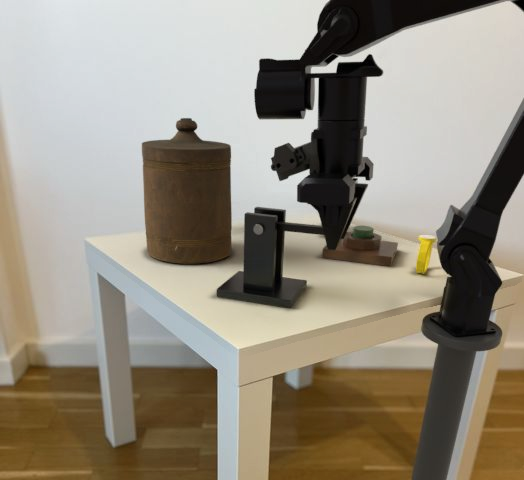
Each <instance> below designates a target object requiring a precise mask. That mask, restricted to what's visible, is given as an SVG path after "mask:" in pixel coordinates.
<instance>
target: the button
mask: <svg viewBox="0 0 524 480" xmlns="http://www.w3.org/2000/svg"><path fill="white" fill-rule="evenodd" d="M352 231H353V235H352V237H355V238H361V239H371V238H373V233H374V228H373V227H372V226H369V225H354V226H353V227H352Z"/></svg>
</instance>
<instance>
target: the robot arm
mask: <svg viewBox="0 0 524 480" xmlns="http://www.w3.org/2000/svg"><path fill="white" fill-rule="evenodd" d="M505 2H510V3H512V4H514V5H515V6H516V7H517V8H518V9H519V10H520V11H521V12H523V13H524V0H328V1H327V2H326V3H325V4H324V6H323V7H322V9H321V11H320V13H319V15H318V19H317V23H316V29H317V30H316V33H315V35H314V37H312V39H311V41H310V42H309V44H308V46H307V47H306V49H304V52H303V53H302V55H301V57H300V58H299V59H274V58H260V59H259V60H258V72H257V76H256V82H255V83H256V84H255V88H254V89H253V90H254V91H253V92H254V109H255V113H256V116H257V119H258V120H305V118H306V114H307V111H313V110H314V107H315V99H316V83H315V82H316V81H315V79H318V84H317V85H318V86H317V87H318V89H317V93H318V94H317V128H315V129H314V128H313V131H311V133H310V141H309V142H307V143H304V144H301V145H298V146H296V147H294V146H293V145H292V144H291V143H290V142H287V143H284V144H282V145H279V146H276V147H274V151H273V156H272V157H270V160H271V165H270V169H271V171H273V172H276V175H277V178H278V182H282V181H285V180H287V179H289V177H292V176H294V175H297V174H300V173H303V172H305V171H309V174H308V175H307V176H305V177H304V178H303V179H302V180H301V181H300V182H299V183H298V184H297V185H296V201H297V202H298V203H301V204H307V205H309V206H311V207H313V209H315V210H316V211H317V213H318V217H319V219H320V222H321V224H320V225H322V228H323V232H324V236H325V237H324V239H325V245H327V248H328V249H329V250H336V248H337V246H338V244H339V241H340V239H344V237H345V235H346V233H347V232H349V228H350V226H351V224H352V222H353V219H354V218H355V215H356V213H357V211H358V209H359V206H360V204H361V202H362V200H363V198H364V195H365V193H366V191H367V189H368V187H369V183H363V182H362V183H359V178H365V181H367V182H368V181H370V182H371V180H372V179H373V177H374V166H375V165H374V162H373V161H372V160H371V158H369V157H368V156H363V154H364V137H365V136H367V132H368V126H367V125H365V120H366V119H365V118H366V100H367V84H368V78H379V77H383V76H384V70H383V69H382V68H381V66H379V65H378V63H377V62H376V60H375V58H374V55H373V54H371V53H369V54H367V55H366V57H365V58H364V60H362V61H339V62H337V65H336V69H335V70H336V71H335V72H312V68H324V67H328V66H329V64H331V63H333V62H334V61H335V60H337V59H338V58H339V57H340V58H341V57H342V58H346V57H347V58H350V57H353V56H355V55H358V54H359V53H361V52H364V51H365V50H368V49H370V48H371V47H374V46H376V45H378V44H380V43H382V42H384V41H386V40H387V39H389V38H392V37H394V36H395V35H397V34H399V33H402V32H404V31H407V30H409V29H412V28H413V29H414V28H416V27H420V26H423V25H427V24H431V23H434V22H438V21H441V20H445V19H449V18H451V17H456V16H458V15H462V14H466V13H470V12H473V11H477V10H480V9H484V8H487V7H491V6H494V5H497V4H501V3H505ZM523 176H524V97H523V98H522V100H521V102H520V104H519V106H518V108H517V110H516V112H515V113H514V116H513V117H512V120H511V122H510V123H509V125H508V127H507V129H506V130H505V132H504V134H503V136H502V138H501V140H500V141H499V144H498V146H497V148H496V150H495V151H494V153H493V156H491V159H490V161H489V163H488V165H487V166H486V169H485V170H484V173H483V174H482V176H481V178H480V180H479V182H478V184H477V185H476V187H475V190H474V191H473V193H472V195H471V197H470V198H469V199H468V200H467V201H466V202H465V203H464V204H463V205H462V206H461V207H460V208H458V207H457V206H454V205H453V204H450V205H449V207H448V209H447V212H446V215H445V218H444V221H443V223H442V224H441V226H440V227H438V228H437V229H436V231H435V235H436V249H437V254H438V260H439V263H440V266H441V269H442V270H443V271H444V272H445V273H446V274H447V275H448V276H446V281H445V286H444V287H443V291H442V296H441V302H440V305H439V306H440V307H439V311H438V312H439V313H440V315H431V316H430V320H431V321H433V322H434V323H435V324H437V325H438V326H439V327H441V328H442V329H444V330H445V331H446V332H448V333H449V334H451V335H452V336H453V337H468V336H477V335H486V334H495V333H496V329H495V328H493V327H492V326H490V325H488V323H489V320H490V318H491V314H492V309H493V305H494V302H495V297H496V294H497V293H498V291H499V289H500V288H501V286H502V285H503V280H502V278H501V277H500V275H499V272H498V270H497V269H496V266H495V264H494V262H493V261H492V260H491V258H490V257H491V254H492V251H493V248H494V246H495V243H496V240H497V236H498V232H499V227H500V223H501V219H502V215H503V213H504V211H505V209H506V207H507V205H508V203H509V201H510V200H511V198H512V196H513V195H514V193H515V191H516V189H517V187H518V186H519V184H520V182H521V181H522V179H523Z"/></svg>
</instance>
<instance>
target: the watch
mask: <svg viewBox="0 0 524 480" xmlns="http://www.w3.org/2000/svg"><path fill="white" fill-rule="evenodd" d="M417 239H418V241H419V242H420V245H419V248H418V253H417V256H416V262H415V263H416V264H415V273H416V274H423V275H424V274H426V272H427V270H428V267H429V264H430V260H431V255H432V250H433V243H437V236H435V235H431V234H419V235H418V237H417Z"/></svg>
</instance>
